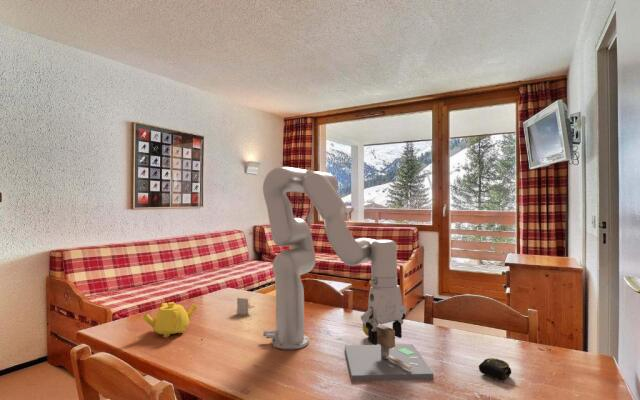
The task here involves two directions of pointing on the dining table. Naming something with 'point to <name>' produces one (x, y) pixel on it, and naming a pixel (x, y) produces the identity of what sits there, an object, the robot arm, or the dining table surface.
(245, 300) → the architectural model
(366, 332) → the lemon
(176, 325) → the teapot
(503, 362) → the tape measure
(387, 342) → the wooden block with handle
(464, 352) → the dining table surface
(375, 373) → the board
